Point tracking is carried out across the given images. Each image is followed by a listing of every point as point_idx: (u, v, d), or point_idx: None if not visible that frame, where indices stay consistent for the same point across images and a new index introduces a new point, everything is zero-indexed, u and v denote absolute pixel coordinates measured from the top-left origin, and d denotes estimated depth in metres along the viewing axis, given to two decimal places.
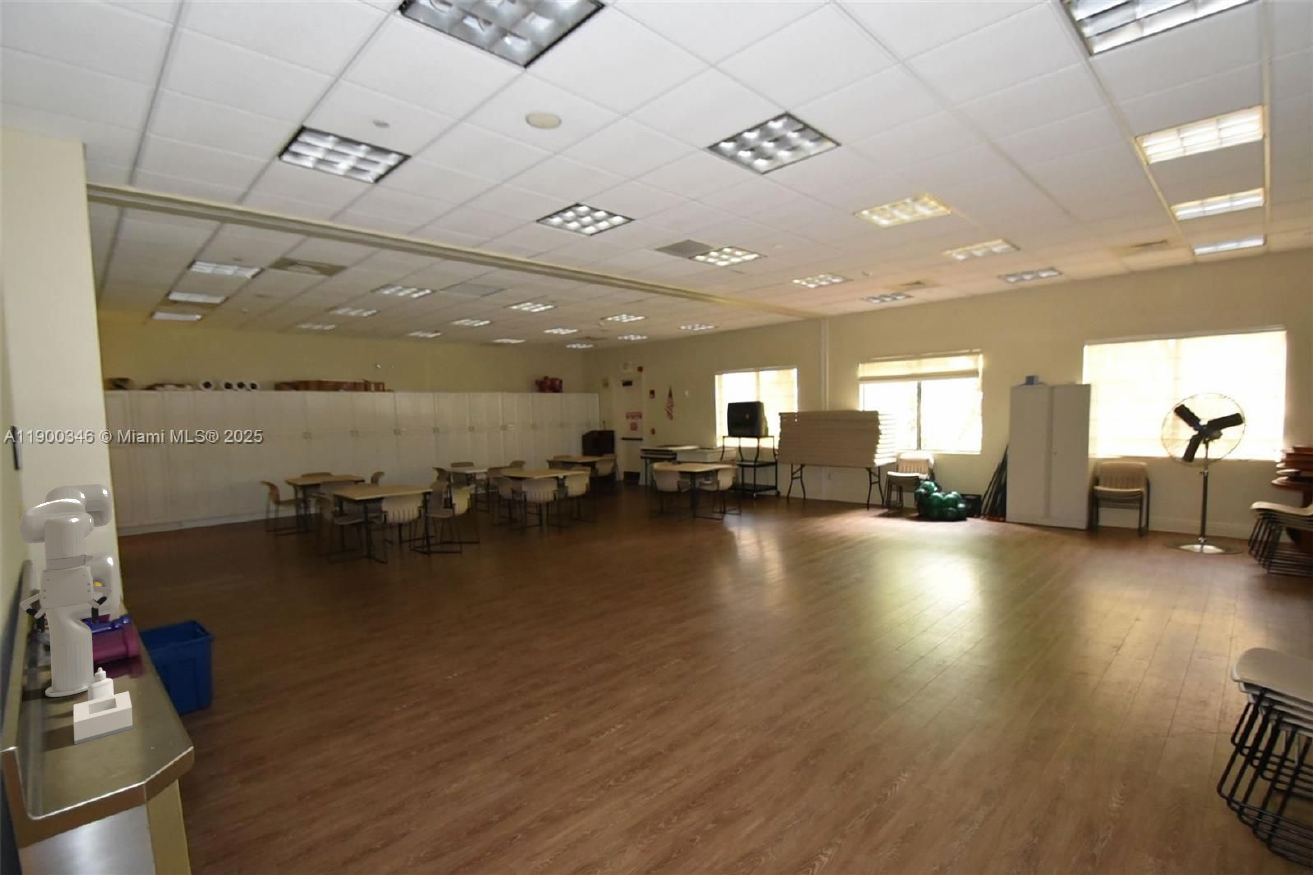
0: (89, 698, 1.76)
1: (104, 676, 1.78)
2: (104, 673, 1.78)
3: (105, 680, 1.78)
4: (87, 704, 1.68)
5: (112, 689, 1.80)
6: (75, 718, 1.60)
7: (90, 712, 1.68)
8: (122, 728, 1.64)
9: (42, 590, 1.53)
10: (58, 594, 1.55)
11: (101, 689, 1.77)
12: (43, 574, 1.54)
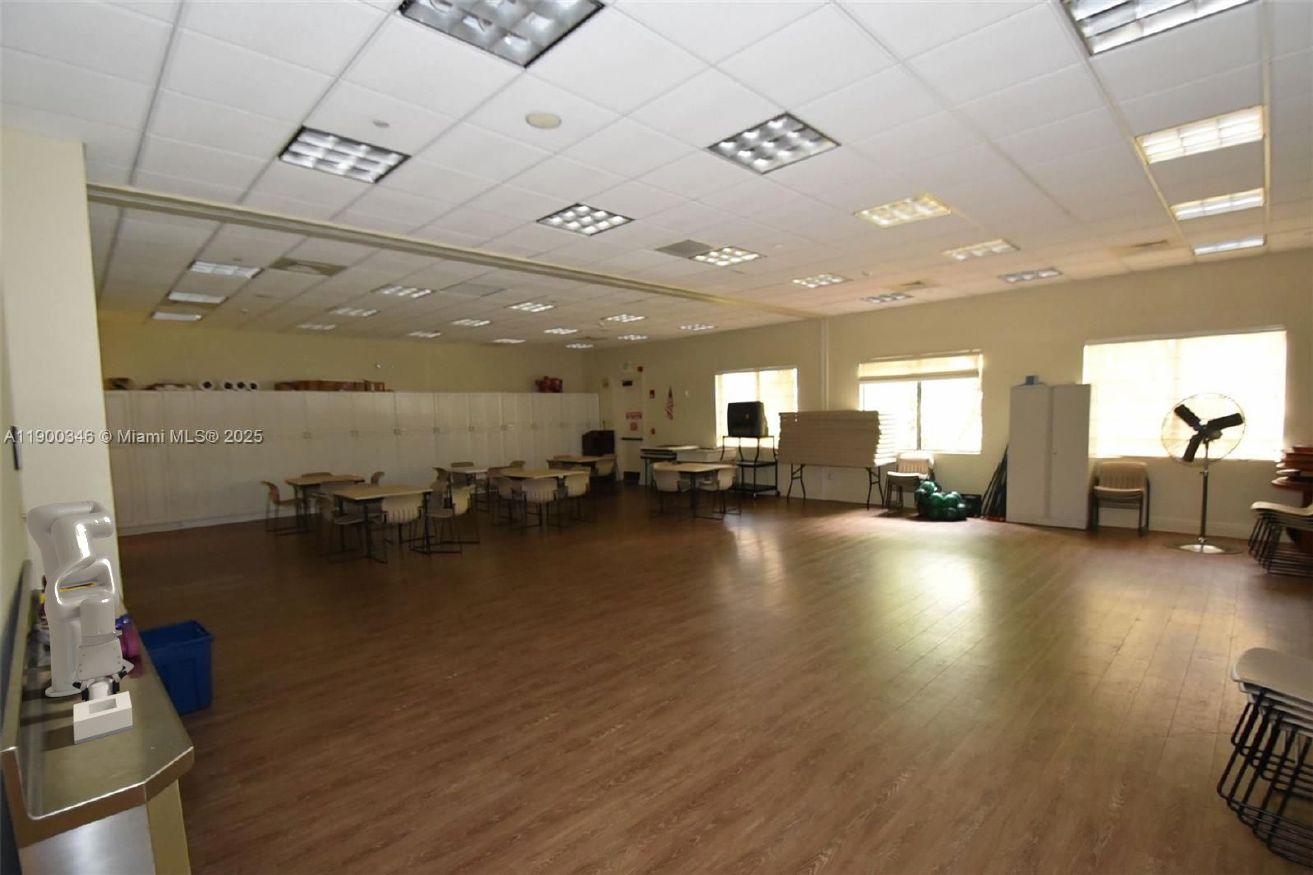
0: (89, 698, 1.76)
1: (104, 676, 1.78)
2: None
3: (105, 680, 1.78)
4: (87, 704, 1.68)
5: (112, 689, 1.80)
6: (75, 718, 1.60)
7: (90, 712, 1.68)
8: (122, 728, 1.64)
9: (78, 664, 1.73)
10: (92, 667, 1.75)
11: (101, 689, 1.77)
12: (79, 650, 1.74)
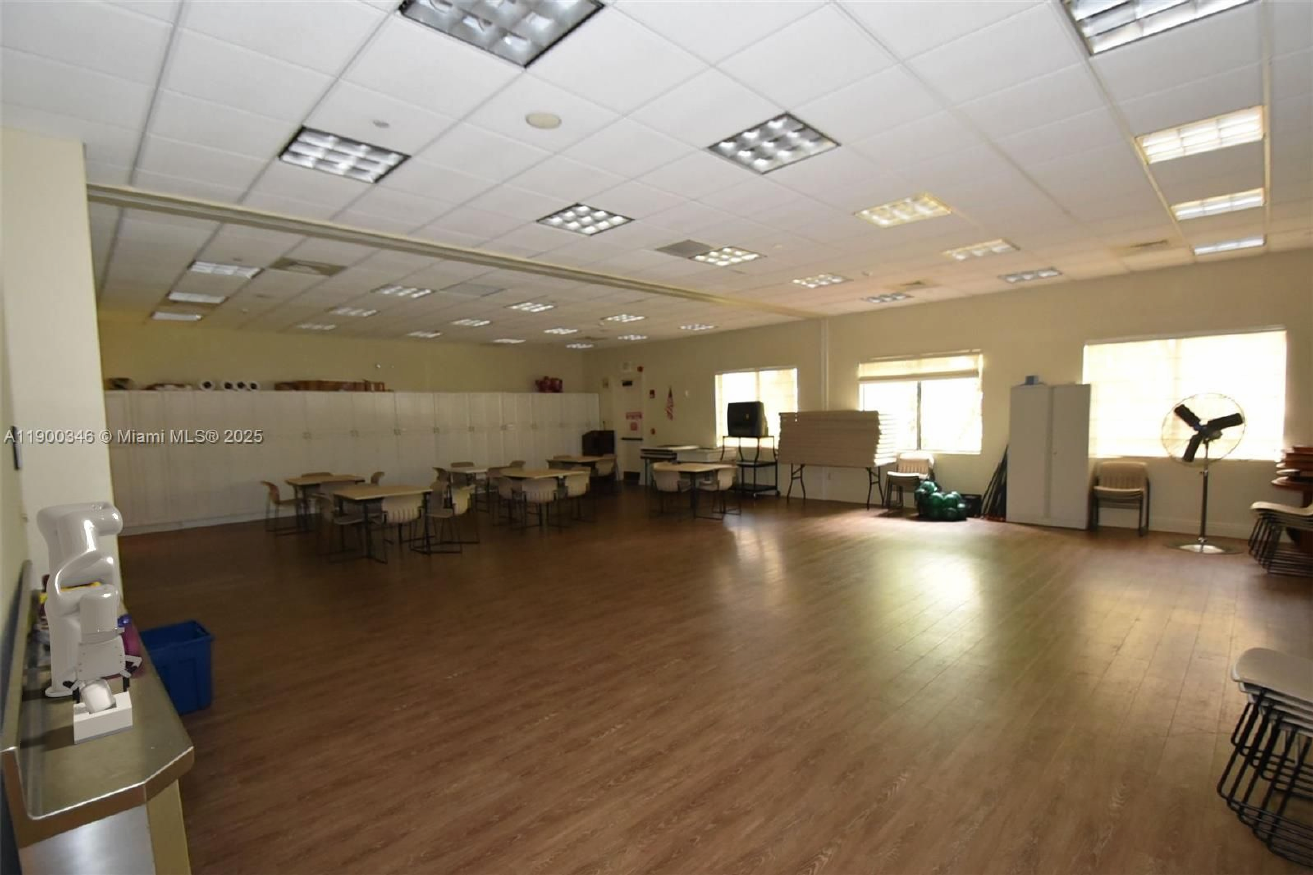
0: (85, 702, 1.63)
1: None
2: None
3: (96, 682, 1.65)
4: None
5: (108, 688, 1.67)
6: (75, 718, 1.60)
7: None
8: (122, 728, 1.64)
9: (78, 663, 1.62)
10: (93, 667, 1.64)
11: (95, 691, 1.64)
12: (78, 648, 1.62)
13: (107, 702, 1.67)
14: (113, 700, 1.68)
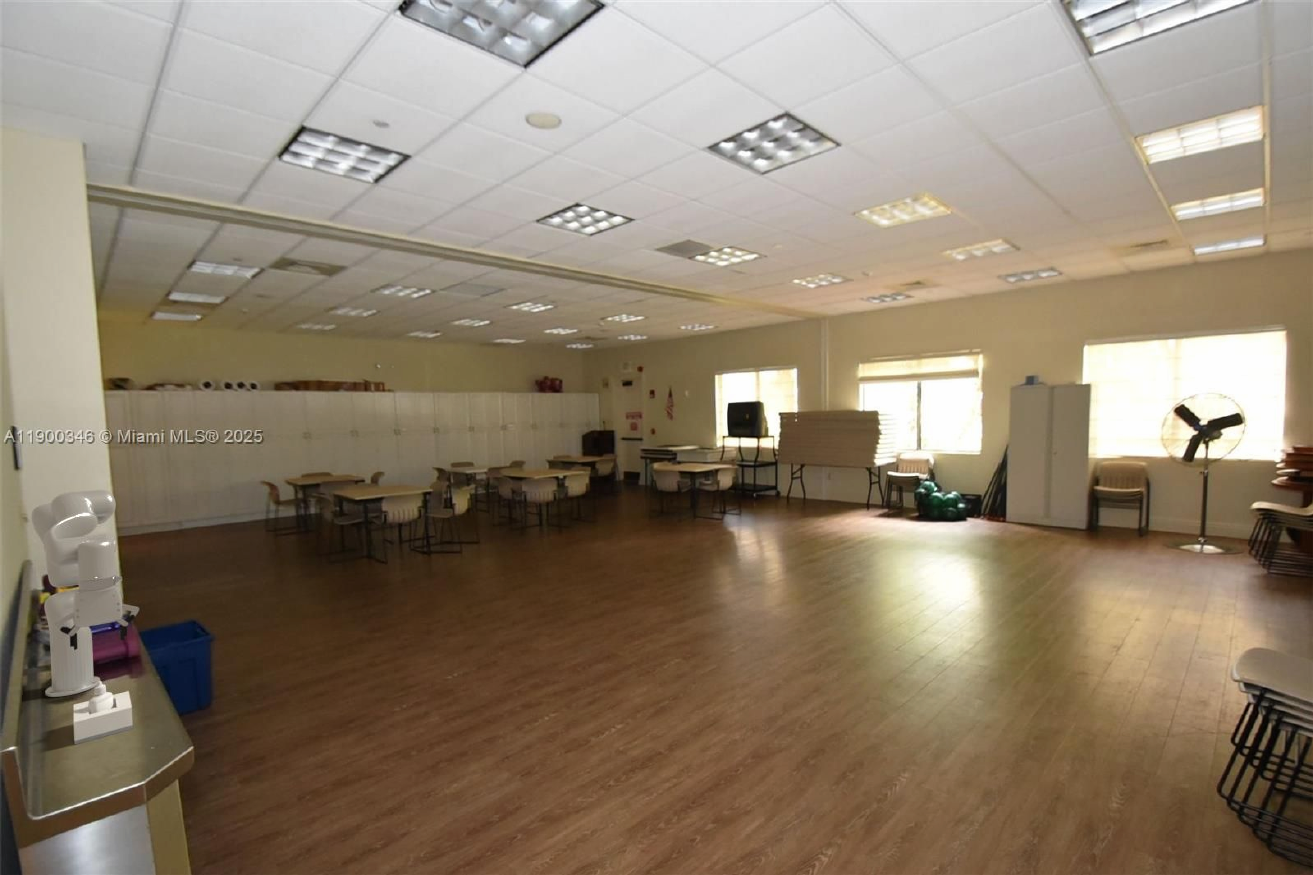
0: None
1: (105, 689, 1.67)
2: (105, 686, 1.67)
3: (106, 693, 1.67)
4: (87, 704, 1.68)
5: (112, 703, 1.69)
6: (75, 718, 1.60)
7: None
8: (122, 728, 1.64)
9: (75, 610, 1.63)
10: (90, 614, 1.65)
11: (104, 703, 1.66)
12: (76, 595, 1.63)
13: None
14: None
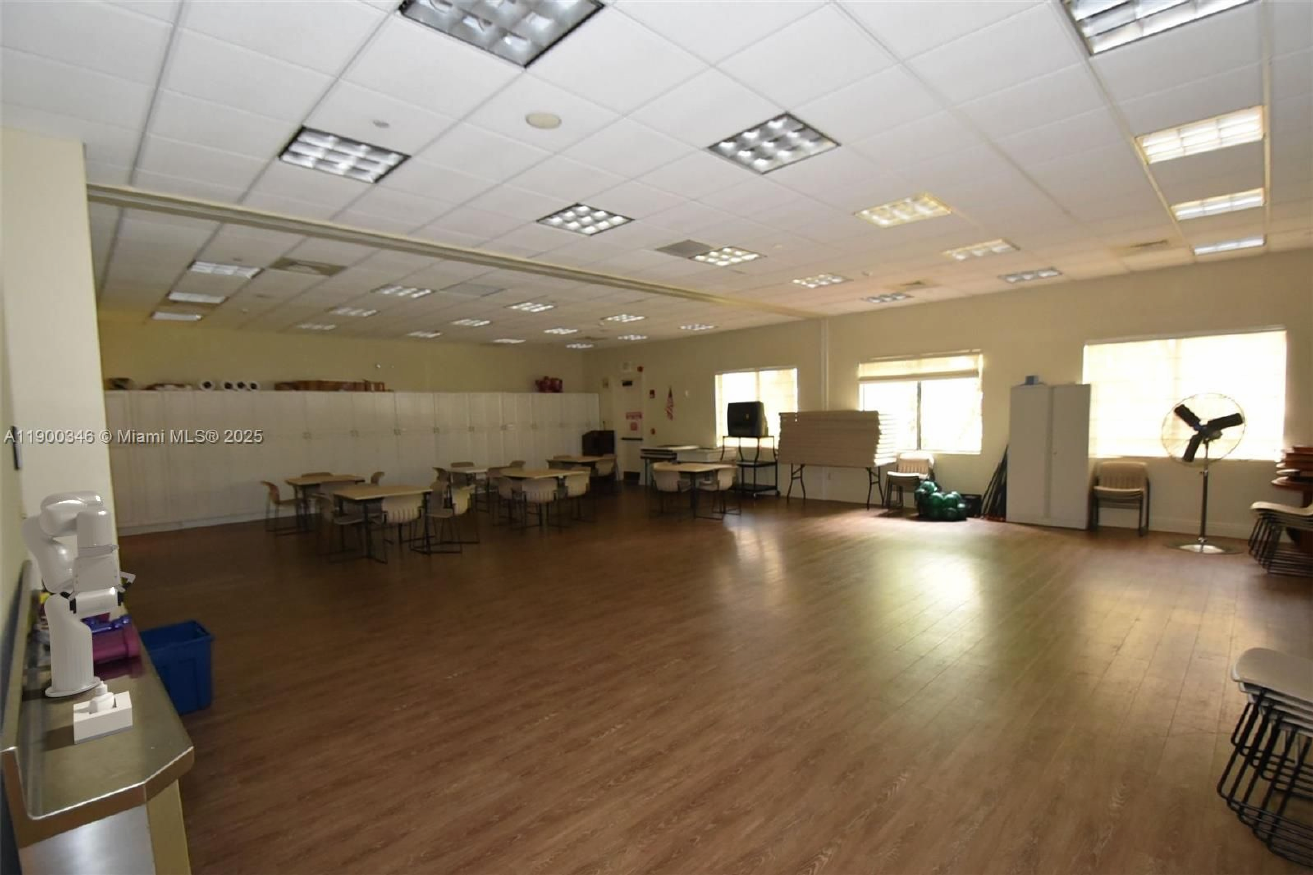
0: None
1: (106, 689, 1.67)
2: (106, 686, 1.67)
3: (107, 694, 1.67)
4: (87, 704, 1.68)
5: (113, 703, 1.69)
6: (75, 718, 1.60)
7: None
8: (122, 728, 1.64)
9: (74, 575, 1.71)
10: (89, 579, 1.73)
11: (105, 703, 1.66)
12: (75, 561, 1.71)
13: None
14: None
